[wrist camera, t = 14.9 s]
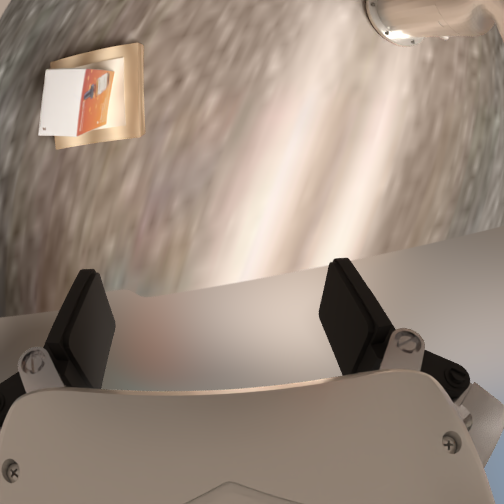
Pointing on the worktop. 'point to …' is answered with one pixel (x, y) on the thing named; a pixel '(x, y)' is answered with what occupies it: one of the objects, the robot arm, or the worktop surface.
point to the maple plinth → (113, 93)
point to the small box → (74, 101)
